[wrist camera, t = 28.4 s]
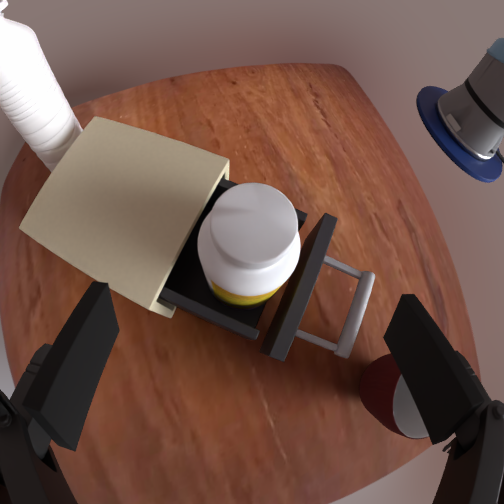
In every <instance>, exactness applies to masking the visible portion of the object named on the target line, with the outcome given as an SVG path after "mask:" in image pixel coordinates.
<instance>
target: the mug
mask: <svg viewBox="0 0 504 504" xmlns="http://www.w3.org/2000/svg"><path fill="white" fill-rule="evenodd" d="M359 392H360V398H361V401H362V403H363V405H364V406H365V408H366V409H367V410H368V411H369V412H370V413H371V414H372V415H373V416H374V417H375V418H376V419H377V420H378V421H379V422H380V423H382V424H383V425H384V426H385V427H386V428H388V429H389V430H391V431H393V432H395V433H397V434H399V435H402V436H405V437H407V438H411V439H423V438H427V437H429V434H428V432H427V430H426V427H425V425H424V423H423V420H422V418H421V416H420V413H419V411H418V409H417V406H416V404H415V402H414V400H413V398H412V395H411V393H410V391H409V389H408V387H407V385H406V382H405V380H404V378H403V376H402V374H401V372H400V370H399V368H398V366H397V364H396V362H395V360H394V358H393V356H392V354H387V355H384V356H382V357H380V358H378V359H376V360H375V361H374V362H372V363H371V364H370V365H369V366H368V368H367V369H366V370H365V372H364V373H363V375H362V377H361V380H360V386H359Z"/></svg>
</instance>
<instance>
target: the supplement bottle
mask: <svg viewBox="0 0 504 504" xmlns="http://www.w3.org/2000/svg"><path fill="white" fill-rule="evenodd" d="M198 254H199V258H200V262H201V264H202V267H203V270H204V274H205V277H206V280H207V283H208V286H209V289H210V291H211V292H212V294H213V295H214V297H215V298H216V299H217V300H218V301H219V302H221V303H222V304H223V305H225V306H227V307H229V308H232V309H236V310H249V309H254V308H256V307H259V306H261V305H262V304H264V303H265V302H266V301H268V300H269V299H270V298H271V297H272V296H273V295H274V293H275V292H276V291H277V290H278V289H279V288H280V287H281V286H282V285H283V284H284V283H285V282H286V280H287V279H288V278H289V277H290V275H291V274H292V273H293V271H294V269H295V267H296V265H297V263H298V260H299V255H300V237H299V233H298V219H297V215H296V211H295V209H294V207H293V205H292V203H291V202H290V201H289V199H288V198H287V197H286V196H285V195H284V194H283V193H281V192H280V191H278V190H277V189H275V188H273V187H271V186H269V185H265V184H261V183H244V184H239V185H236V186H234V187H232V188H230V189H228V190H227V191H225V192H224V193H223V194H222V195H221V196H220V197H219V198H218V200H217V201H216V203H215V204H214V206H213V209H212V211H211V212H210V213H209V214H208V215H207V217H206V218H205V220H204V221H203V223H202V226H201V228H200V231H199V235H198Z"/></svg>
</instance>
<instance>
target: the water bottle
mask: <svg viewBox="0 0 504 504" xmlns="http://www.w3.org/2000/svg"><path fill="white" fill-rule="evenodd" d="M7 5H8V3H7V0H1V1H0V8H1V9H0V11H1V10H3V9H4V8H5V7H6V6H7ZM3 15H4V13H2V14H1V12H0V108H1V109H2V110H3V111H4V113H5V115H7V117H8V119H9V120H10V121H11V123H12V124H13V126H14V127H15V129H16V130H17V131H18V132H19V133H20V134H21V136H22V137H23V139H24V140H25V141H26V142H27V143H28V144H29V146H30V148H31V149H32V150H33V151H34V152H36V154H37V156H38V157H39V159H40V160H42V161H43V163H44V164H45V166H46V167H47V168H48V169H49V170H50V171H51V173H52V172H53V170H54V169H55V167H56V166H57V164H58V163H59V161H60V160H61V159H62V157H63V156H64V155H65V153H66V152H67V150H68V149H69V148H70V146H71V145H72V144H73V143H74V141H75V140H76V139H77V137H78V136H79V135H80V134H81V132H82V131H83V129H82V128H81V126H80V124H79V122H78V120H77V118H76V117H75V116H74V113H73V111H72V109H71V108H70V105H69V103H68V101H67V100H66V98H65V97H64V94H63V92H62V90H61V88H60V86H59V84H58V83H57V81H56V78H55V77H54V75H53V72H52V71H51V68H50V66H49V65H48V62H47V60H46V58H45V56H44V54H43V51H42V50H41V48H40V44H39V42H38V39H37V36H36V34H35V33H34V31H33V30H32V29H31V28H30V27H28V26H26V25H24V24H21V23H18V22H15V21H12V20H9V19H6V18H4V17H3Z"/></svg>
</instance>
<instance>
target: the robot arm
mask: <svg viewBox="0 0 504 504" xmlns="http://www.w3.org/2000/svg"><path fill="white" fill-rule="evenodd" d="M436 113H437V115H438V118H439V120H440V122H441V124H442V125H443V127H444V128H445V130H446V131H447V133H448V134H449V135H450V137H451V138H452V139H453V140H454V141H455V142H456V144H457V145H458V146H459V147H460V148H461V149H463V150H464V151H465V152H466V153H467V154H469V155H470V156H471V157H473V158H475V159H477V160H479V161H483V162H485V161H488V160H489V159H490V158H491V157H493V156H494V154H495V153H496V155H497V156H498V157H499V158H500V160H501V161H502V162H503V163H504V158H503V156H502V155H501V154H500V152H499V151H498V150H497V149H498V147H499V145H500V143H501V140H502V138H503V136H504V38H499V39H497V40H496V41H495V42H494V44H493V45H492V46H491V47H490V48H489V49H487V53H486V54H485V56H484V57H483V58H482V60H481V61H480V62H479V64H478V65H477V66H476V68H475V69H474V70H473V71H472V73H471V74H470V75H469V77H468V78H467V79H466V81H465V82H464V83H463V84H462V85H460V86H458V87H456V88H454V89H453V90H451V91H449V92H447V93H445V94H444V95H442V96H441V97H440V98H439V100H438V101H437V102H436ZM119 331H120V330H119V326H118V323H117V319H116V315H115V311H114V307H113V303H112V298H111V294H110V289H109V285H108V283H106V282H96V281H93V282H92V283H91V285H90V286H89V288H88V289H87V291H86V292H85V294H84V295H83V297H82V298H81V300H80V301H79V303H78V304H77V306H76V307H75V309H74V310H73V312H72V314H71V315H70V317H69V318H68V320H67V322H66V323H65V325H64V326H63V328H62V330H61V331H60V333H59V335H58V336H57V338H56V340H55V342H54V343H53V345H49V344H44V345H43V346H42V347H40V348H39V349H38V350H37V351H36V352H35V354H34V356H33V357H32V359H31V361H30V364H28V366H27V368H26V372H24V373H23V375H22V377H21V379H20V381H19V383H18V384H17V386H16V388H15V390H14V392H13V394H12V396H11V398H10V400H9V399H8V398H7V396H6V395H5V394H4V393H3V392H2V391H1V390H0V504H78V503H77V501H76V500H75V498H74V496H73V494H72V492H71V490H70V488H69V486H68V484H67V482H66V480H65V478H64V476H63V473H62V471H61V469H60V467H59V464H58V462H57V460H56V457H55V455H54V452H53V450H52V448H51V446H50V445H49V444H50V441H51V439H52V440H53V441H54V442H55V443H56V444H57V445H58V446H61V447H64V448H67V449H70V450H73V451H76V448H77V445H78V441H79V438H80V435H81V432H82V429H83V426H84V422H85V419H86V416H87V413H88V410H89V408H90V405H91V402H92V399H93V396H94V393H95V391H96V388H97V385H98V383H99V380H100V377H101V375H102V372H103V370H104V367H105V364H106V362H107V359H108V357H109V354H110V352H111V350H112V347H113V345H114V342H115V340H116V338H117V335H118V333H119ZM383 338H384V340H385V342H386V344H387V346H388V348H389V350H390V352H391V354H392V356H393V358H394V360H395V362H396V364H397V366H398V368H399V370H400V372H401V374H402V376H403V378H404V380H405V382H406V385H407V387H408V389H409V391H410V393H411V395H412V398H413V400H414V402H415V404H416V406H417V409H418V411H419V413H420V416H421V418H422V420H423V423H424V425H425V427H426V430H427V432H428V434H429V437H430V439H431V442H432V444H433V445H434V444H437V443H440V442H442V441H445V440H446V439H448V438H449V437H450V436H451V435H452V434H453V433H454V432H455V434H456V437H455V438H454V439H453V440H452V441H451V442H450V443H449V444H448V445H446V446H445V447H444V449H443V452H445V451H446V450H447V449H448V448H449V447H451V449H450V450H449V451H448V452H447V453H449V456H448V460H447V463H446V466H445V470H444V473H443V476H442V479H441V482H440V485H439V487H438V490H437V493H436V496H435V498H434V501H433V503H432V504H504V404H503V403H502V402H500V401H498V400H494V401H491V399H490V398H489V396H488V394H487V392H486V391H485V389H484V388H483V386H482V384H481V382H480V381H479V379H478V377H477V376H476V375H475V372H474V371H473V369H472V368H471V366H470V365H469V363H468V361H467V360H466V358H465V357H464V356H462V355H461V354H460V353H459V352H458V351H454V349H453V348H452V346H451V345H450V343H449V342H448V340H447V339H446V337H445V336H444V334H443V333H442V331H441V330H440V329H439V327H438V326H437V324H436V323H435V322H434V320H433V319H432V317H431V316H430V315H429V313H428V312H427V310H426V309H425V308H424V306H423V305H422V304H421V302H420V301H419V300H418V298H417V297H416V296H415V294H402V296H401V298H400V301H399V303H398V305H397V308H396V310H395V312H394V315H393V317H392V319H391V322H390V324H389V326H388V328H387V331H386V333H385V335H384V337H383Z"/></svg>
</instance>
